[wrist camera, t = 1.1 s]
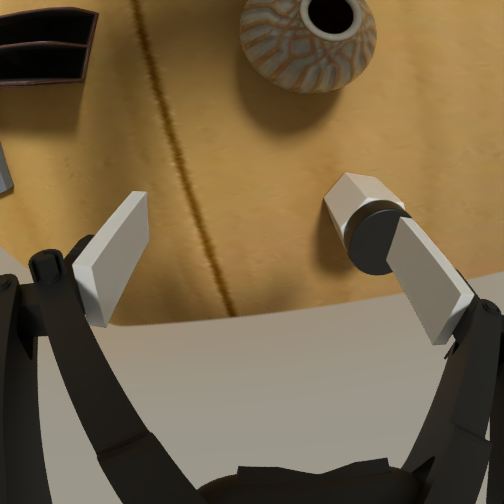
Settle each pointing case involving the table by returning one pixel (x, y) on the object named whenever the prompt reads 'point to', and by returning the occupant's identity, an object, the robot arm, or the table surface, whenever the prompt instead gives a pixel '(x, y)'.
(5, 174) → the panel
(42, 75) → the letter holder
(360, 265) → the jar
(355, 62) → the vase
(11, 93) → the table surface
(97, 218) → the table surface
